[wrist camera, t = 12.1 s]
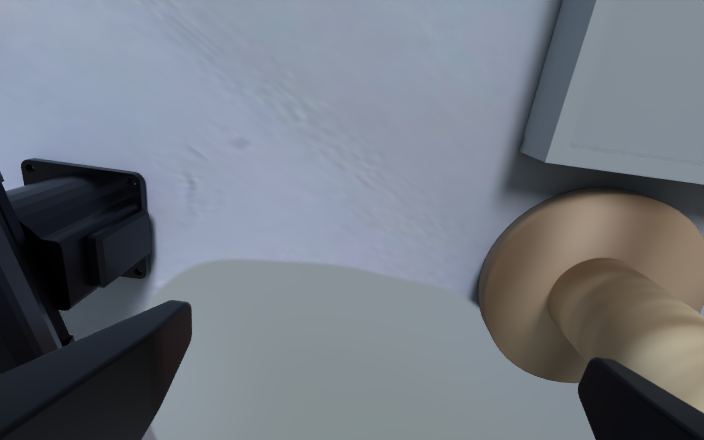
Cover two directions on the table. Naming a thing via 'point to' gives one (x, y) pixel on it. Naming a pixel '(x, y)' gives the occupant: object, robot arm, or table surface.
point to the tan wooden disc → (570, 249)
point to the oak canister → (631, 325)
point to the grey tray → (623, 89)
